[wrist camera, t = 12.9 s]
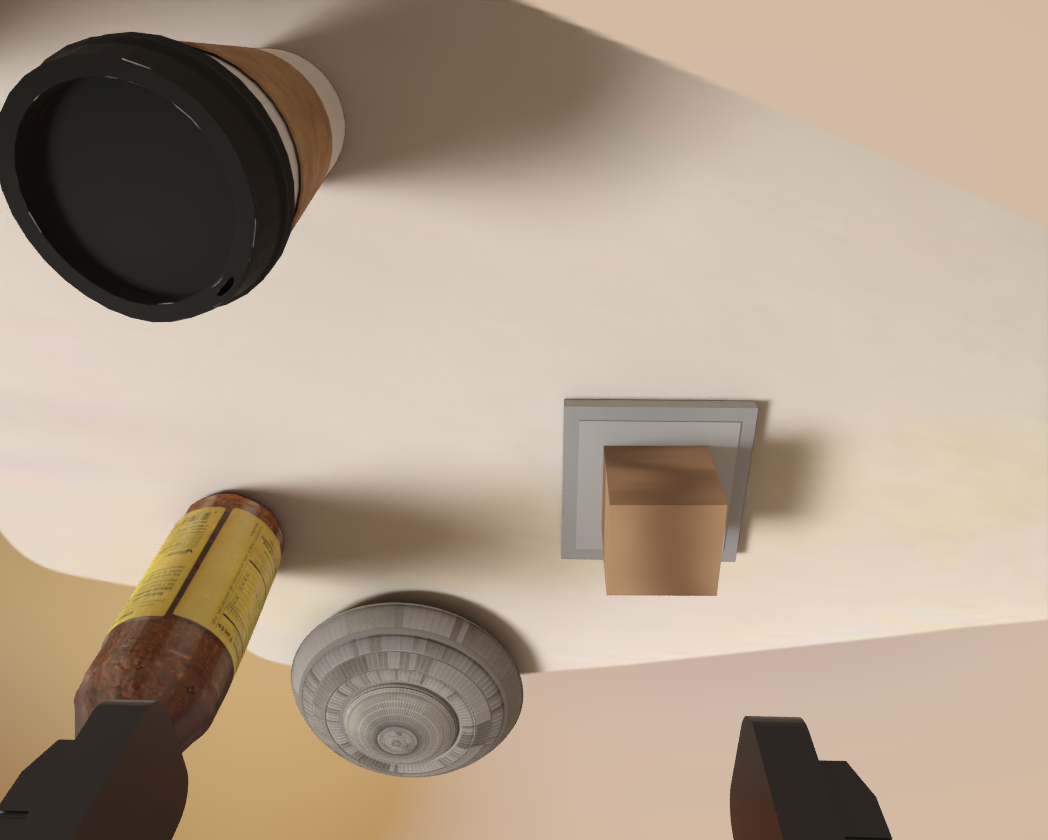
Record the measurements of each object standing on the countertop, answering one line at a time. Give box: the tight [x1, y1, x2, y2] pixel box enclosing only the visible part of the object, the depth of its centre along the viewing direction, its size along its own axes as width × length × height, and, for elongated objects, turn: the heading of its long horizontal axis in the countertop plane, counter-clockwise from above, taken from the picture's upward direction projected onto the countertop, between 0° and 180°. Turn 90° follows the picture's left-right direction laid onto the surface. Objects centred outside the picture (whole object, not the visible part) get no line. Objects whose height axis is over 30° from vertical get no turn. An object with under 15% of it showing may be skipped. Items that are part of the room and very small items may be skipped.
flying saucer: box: [291, 602, 523, 777], centre depth 51 cm, size 15×15×6 cm
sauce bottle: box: [74, 493, 284, 753], centre depth 39 cm, size 7×6×20 cm
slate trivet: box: [561, 399, 758, 562], centre depth 44 cm, size 10×10×1 cm
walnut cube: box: [601, 446, 727, 596], centre depth 41 cm, size 6×6×6 cm
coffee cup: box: [0, 32, 345, 322], centre depth 29 cm, size 8×8×15 cm
